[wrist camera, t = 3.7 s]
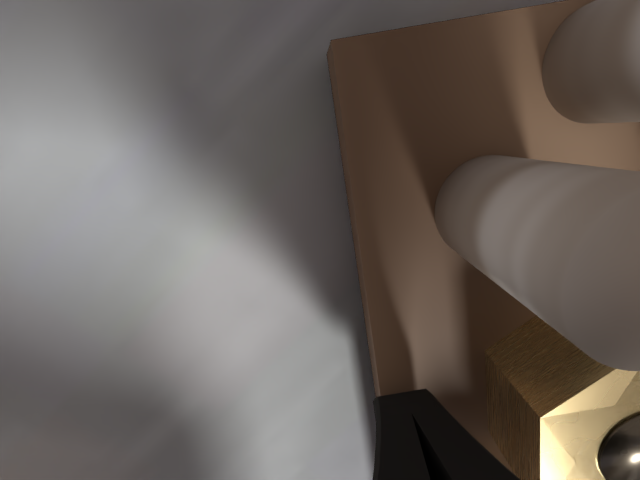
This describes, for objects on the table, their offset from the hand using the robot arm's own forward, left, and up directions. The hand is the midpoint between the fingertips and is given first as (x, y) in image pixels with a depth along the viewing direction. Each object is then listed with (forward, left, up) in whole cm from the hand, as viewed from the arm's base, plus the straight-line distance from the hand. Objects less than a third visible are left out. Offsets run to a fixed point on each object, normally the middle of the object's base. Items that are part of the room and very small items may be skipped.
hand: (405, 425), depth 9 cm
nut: (+5, 0, -1) cm, 5 cm away
